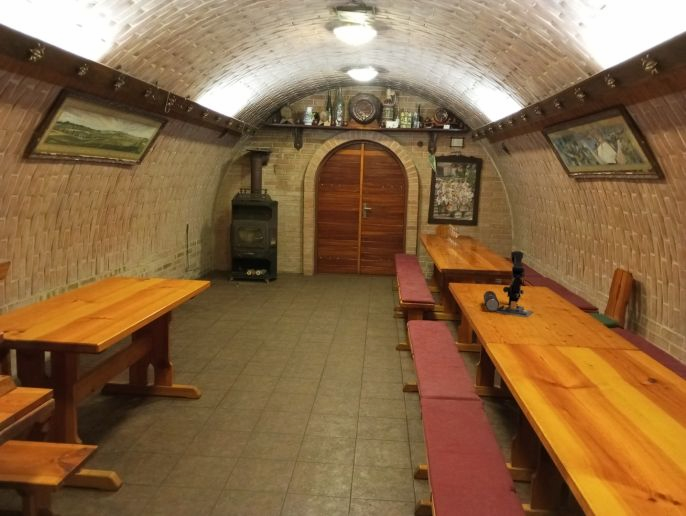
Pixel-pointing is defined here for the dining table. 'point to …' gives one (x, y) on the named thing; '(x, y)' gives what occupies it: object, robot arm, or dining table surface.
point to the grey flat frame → (510, 311)
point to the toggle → (513, 305)
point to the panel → (515, 313)
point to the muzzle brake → (491, 301)
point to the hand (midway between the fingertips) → (514, 305)
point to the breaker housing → (518, 309)
